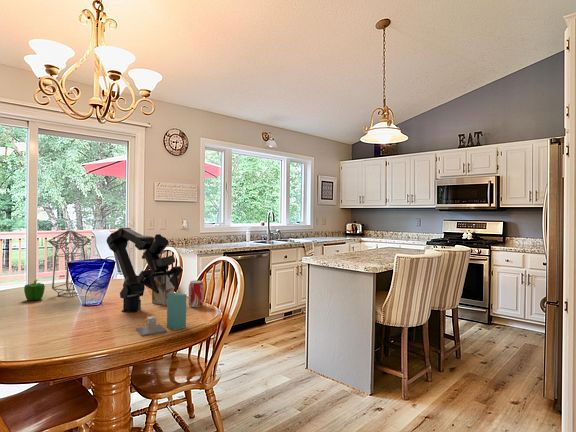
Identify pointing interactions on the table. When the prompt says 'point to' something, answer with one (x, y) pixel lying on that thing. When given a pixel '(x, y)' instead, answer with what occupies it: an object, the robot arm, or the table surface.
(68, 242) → the geometric lantern
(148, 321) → the post
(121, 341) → the table surface
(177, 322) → the teal rectangular block
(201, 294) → the soda can
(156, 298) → the coffee box
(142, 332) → the plate
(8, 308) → the table surface
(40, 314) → the table surface
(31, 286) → the bell pepper
